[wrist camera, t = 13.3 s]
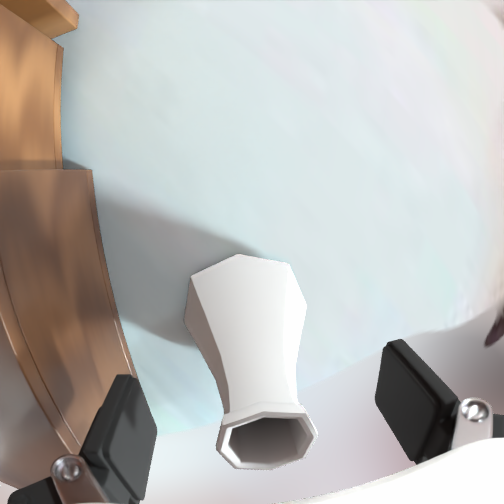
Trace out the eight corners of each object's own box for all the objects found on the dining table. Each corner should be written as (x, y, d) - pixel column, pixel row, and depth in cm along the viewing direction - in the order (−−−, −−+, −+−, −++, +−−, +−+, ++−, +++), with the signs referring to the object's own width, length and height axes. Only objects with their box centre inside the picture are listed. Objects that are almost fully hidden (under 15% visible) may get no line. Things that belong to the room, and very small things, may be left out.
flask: (302, 244, 17) (392, 327, 7) (307, 353, 19) (362, 474, 9) (172, 260, 16) (114, 365, 7) (195, 368, 18) (183, 501, 9)
